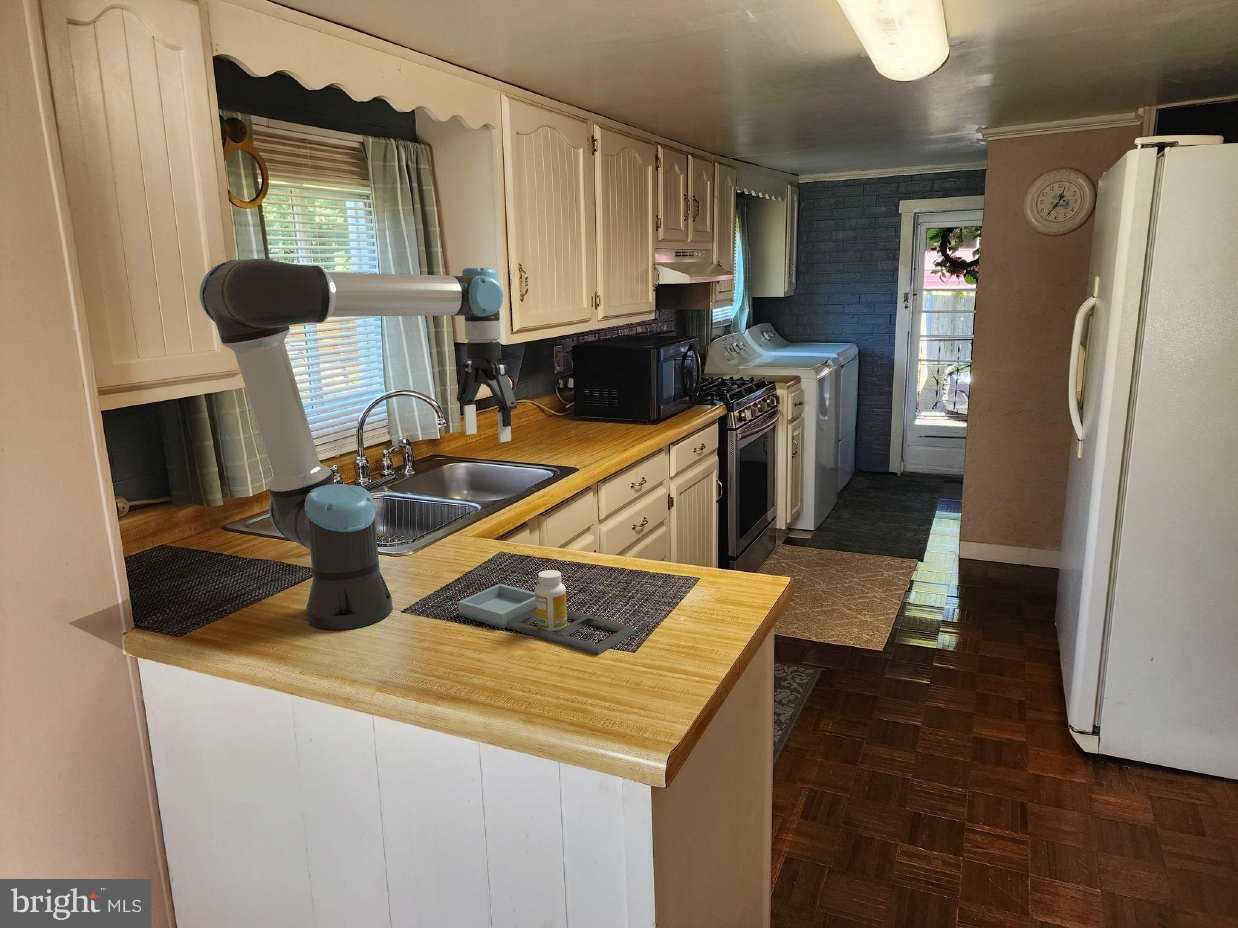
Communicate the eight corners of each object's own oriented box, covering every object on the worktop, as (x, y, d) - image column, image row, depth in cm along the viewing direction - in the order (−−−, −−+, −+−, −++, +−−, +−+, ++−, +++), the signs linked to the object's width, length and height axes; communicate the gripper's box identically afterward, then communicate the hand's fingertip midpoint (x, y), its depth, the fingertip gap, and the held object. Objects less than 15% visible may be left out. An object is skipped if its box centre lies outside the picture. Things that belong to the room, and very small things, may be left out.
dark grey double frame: (598, 654, 137) (598, 647, 137) (507, 627, 148) (506, 621, 148) (633, 633, 145) (633, 626, 145) (544, 609, 156) (544, 603, 156)
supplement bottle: (567, 619, 152) (565, 567, 150) (566, 631, 146) (564, 578, 144) (537, 620, 152) (535, 568, 149) (535, 632, 146) (533, 579, 144)
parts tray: (503, 628, 148) (502, 614, 148) (458, 615, 155) (458, 601, 154) (543, 607, 157) (543, 594, 156) (500, 596, 163) (499, 583, 163)
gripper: (531, 342, 176) (534, 442, 181) (467, 337, 194) (471, 428, 199) (501, 344, 171) (505, 447, 176) (438, 339, 190) (443, 432, 194)
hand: (487, 437), depth 187 cm, fingers open, 13 cm apart
